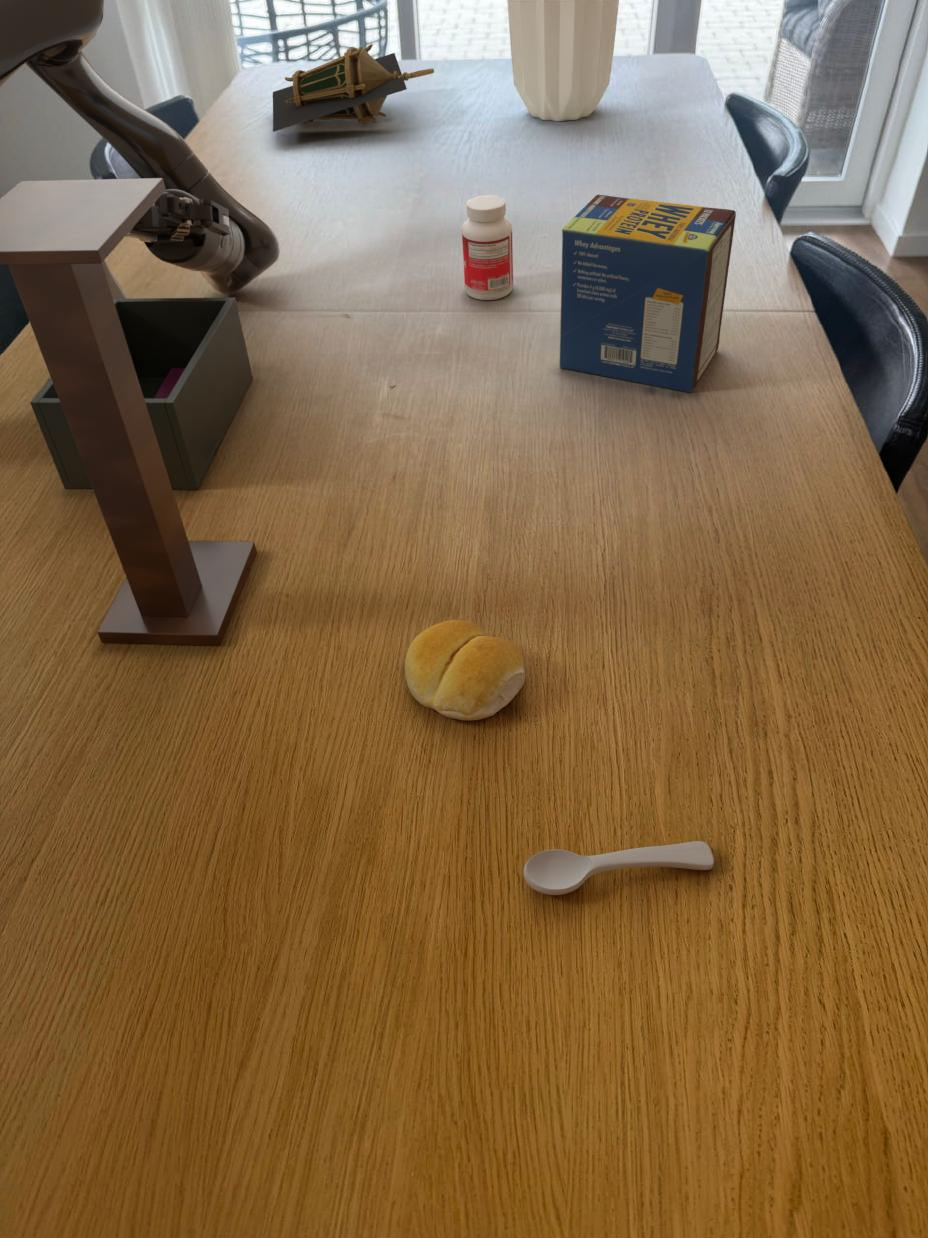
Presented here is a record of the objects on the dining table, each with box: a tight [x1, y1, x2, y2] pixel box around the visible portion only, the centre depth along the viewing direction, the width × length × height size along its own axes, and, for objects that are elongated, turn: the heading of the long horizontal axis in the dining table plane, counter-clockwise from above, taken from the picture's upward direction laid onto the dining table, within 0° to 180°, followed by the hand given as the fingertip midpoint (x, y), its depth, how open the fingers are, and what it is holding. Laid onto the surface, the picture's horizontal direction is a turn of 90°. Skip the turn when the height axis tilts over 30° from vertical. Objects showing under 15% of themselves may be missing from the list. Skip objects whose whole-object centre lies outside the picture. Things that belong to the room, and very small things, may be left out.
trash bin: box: [29, 297, 254, 491], centre depth 99 cm, size 14×22×10 cm, turn 175°
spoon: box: [522, 840, 715, 896], centre depth 60 cm, size 3×12×2 cm, turn 97°
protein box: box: [558, 194, 737, 393], centre depth 103 cm, size 10×15×16 cm
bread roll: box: [404, 619, 527, 721], centre depth 72 cm, size 8×9×4 cm
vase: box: [507, 0, 620, 122], centre depth 167 cm, size 20×20×27 cm
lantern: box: [272, 43, 435, 133], centre depth 175 cm, size 14×23×30 cm
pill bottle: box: [461, 194, 514, 301], centre depth 119 cm, size 6×6×11 cm
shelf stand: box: [0, 178, 258, 647], centre depth 71 cm, size 10×12×32 cm
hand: (123, 204), depth 91 cm, fingers open, 7 cm apart
